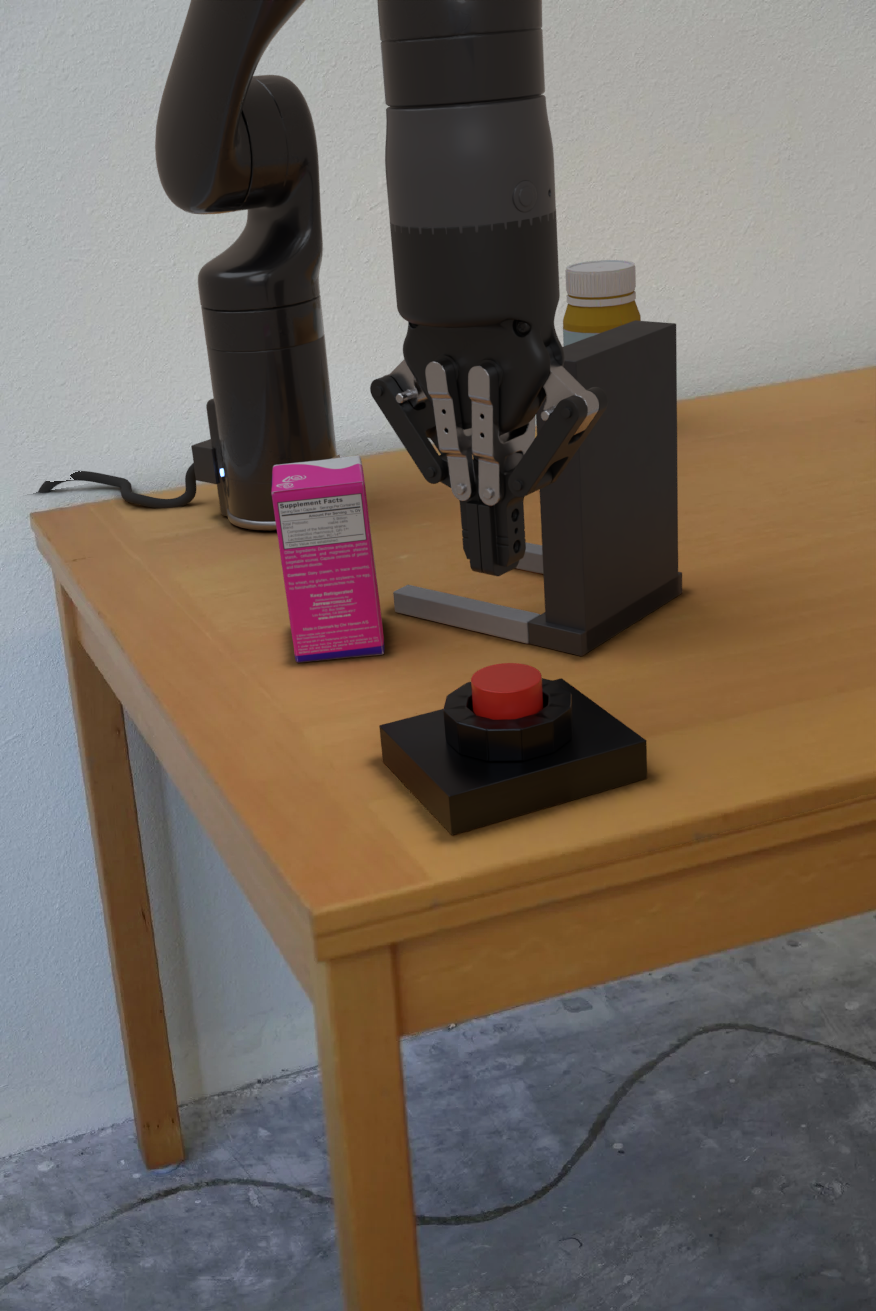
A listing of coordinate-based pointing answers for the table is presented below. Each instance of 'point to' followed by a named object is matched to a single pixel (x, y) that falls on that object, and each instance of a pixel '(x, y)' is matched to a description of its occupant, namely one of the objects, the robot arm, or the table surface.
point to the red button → (507, 691)
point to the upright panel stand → (597, 508)
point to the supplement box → (327, 559)
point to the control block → (511, 757)
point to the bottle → (598, 298)
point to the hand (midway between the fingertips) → (495, 569)
